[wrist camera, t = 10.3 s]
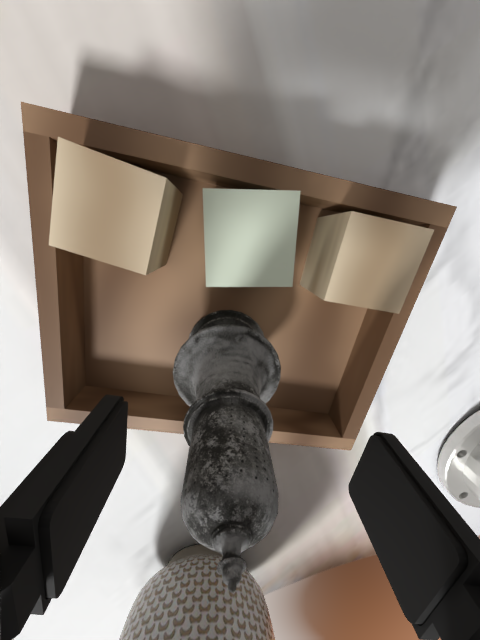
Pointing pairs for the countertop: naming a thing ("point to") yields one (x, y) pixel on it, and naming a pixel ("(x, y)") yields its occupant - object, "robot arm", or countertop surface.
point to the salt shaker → (228, 436)
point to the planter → (198, 603)
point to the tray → (206, 292)
